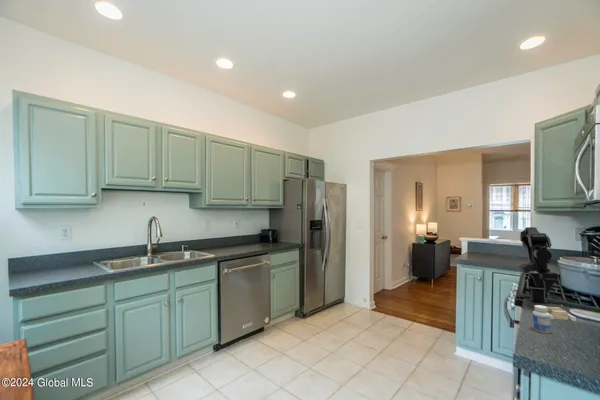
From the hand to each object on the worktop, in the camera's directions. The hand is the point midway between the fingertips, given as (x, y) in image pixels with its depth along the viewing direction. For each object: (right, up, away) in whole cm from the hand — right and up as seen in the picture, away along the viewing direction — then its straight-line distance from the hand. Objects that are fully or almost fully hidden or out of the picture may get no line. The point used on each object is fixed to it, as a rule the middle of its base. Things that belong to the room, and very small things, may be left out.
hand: (542, 289), depth 140 cm
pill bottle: (-23, -9, -26) cm, 36 cm away
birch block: (-3, -9, -12) cm, 15 cm away
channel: (-3, -9, -11) cm, 14 cm away
